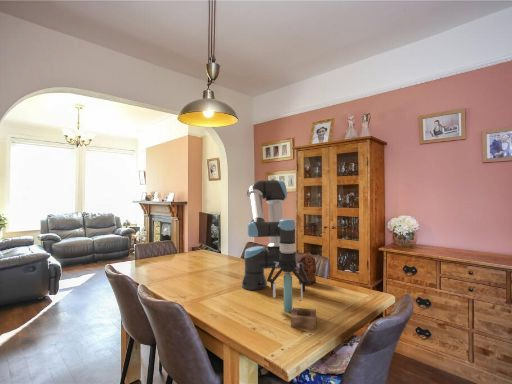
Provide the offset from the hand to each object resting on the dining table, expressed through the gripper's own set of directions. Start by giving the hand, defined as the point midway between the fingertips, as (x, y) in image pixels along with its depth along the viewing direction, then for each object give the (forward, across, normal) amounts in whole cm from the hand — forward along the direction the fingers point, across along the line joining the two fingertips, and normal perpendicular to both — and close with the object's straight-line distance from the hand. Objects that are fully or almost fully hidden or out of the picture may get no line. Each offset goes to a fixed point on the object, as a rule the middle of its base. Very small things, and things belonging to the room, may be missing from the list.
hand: (288, 297), depth 128 cm
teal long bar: (+6, 0, 0) cm, 6 cm away
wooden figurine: (+6, +7, +44) cm, 45 cm away
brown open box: (+6, +8, -11) cm, 15 cm away
